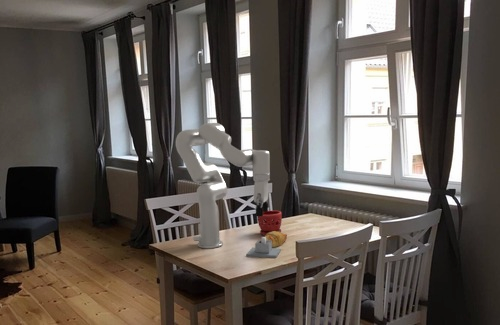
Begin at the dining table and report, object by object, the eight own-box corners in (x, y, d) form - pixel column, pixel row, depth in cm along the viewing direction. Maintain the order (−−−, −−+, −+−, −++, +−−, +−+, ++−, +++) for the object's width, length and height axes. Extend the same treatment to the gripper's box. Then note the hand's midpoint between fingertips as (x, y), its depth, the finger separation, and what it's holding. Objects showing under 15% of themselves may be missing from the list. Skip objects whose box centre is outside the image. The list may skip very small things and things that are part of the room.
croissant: (264, 257, 218) (270, 244, 215) (250, 245, 223) (255, 232, 220) (290, 246, 234) (295, 233, 231) (276, 234, 239) (281, 222, 236)
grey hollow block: (255, 253, 210) (255, 243, 210) (258, 249, 216) (258, 239, 216) (269, 253, 208) (268, 244, 208) (271, 249, 215) (271, 240, 214)
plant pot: (282, 230, 254) (281, 209, 253) (281, 237, 241) (281, 214, 240) (259, 231, 255) (258, 210, 254) (257, 237, 242) (256, 215, 241)
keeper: (246, 256, 209) (245, 240, 208) (252, 249, 220) (252, 234, 219) (276, 257, 205) (275, 241, 205) (281, 250, 216) (280, 235, 215)
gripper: (258, 174, 218) (258, 209, 220) (248, 179, 202) (249, 217, 204) (273, 174, 216) (273, 210, 218) (265, 180, 200) (265, 218, 202)
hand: (261, 213), depth 211 cm, fingers open, 9 cm apart
